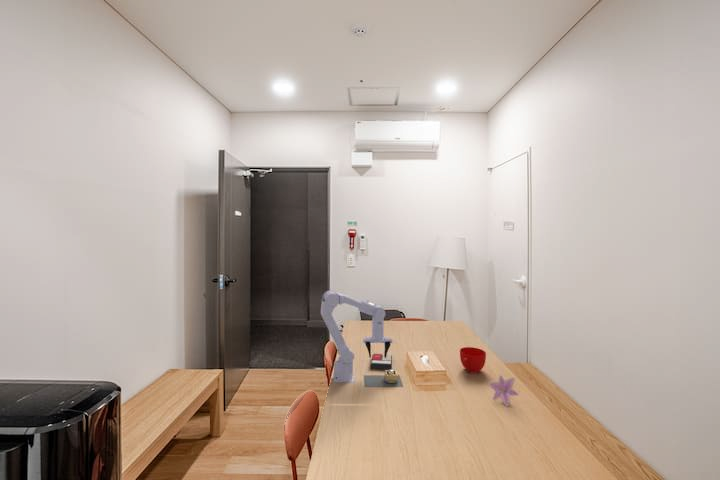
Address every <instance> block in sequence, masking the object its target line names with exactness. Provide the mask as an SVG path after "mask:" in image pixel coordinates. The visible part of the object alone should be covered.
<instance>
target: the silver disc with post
mask: <svg viewBox="0 0 720 480" xmlns="http://www.w3.org/2000/svg"><path fill="white" fill-rule="evenodd" d="M394 370H395V369H390V370H388V375H391V374H394ZM384 381H385V382H386V379H385V378H384ZM397 382H398V381H395V382H386V383H388V384H395V383H397Z"/></svg>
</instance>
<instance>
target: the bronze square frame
mask: <svg viewBox="0 0 720 480" xmlns="http://www.w3.org/2000/svg"><path fill="white" fill-rule="evenodd" d="M393 370H394V374H391V375H388V370H384V375H385V379H386V382H395V381H398V375H399V374H398V371H397V370H396V369H393Z"/></svg>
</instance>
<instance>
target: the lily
mask: <svg viewBox="0 0 720 480" xmlns="http://www.w3.org/2000/svg"><path fill="white" fill-rule="evenodd" d="M515 381H516V378H515V377H511V378H508V379H506V380H505V378H504V377H503V375H501V374H499V376H498V380H497V381H490V382H488V383H487V385H488V386H489V388H490V389H492V390H493V391H495V393H494V394H493V396H492V397H493V398H492V400H498V399H500V400H501V401H502V402H503V404H504V405H505V406H506V407H509V404H510V398H511V397H518V396H520V395H519V393H518V392H517V391H516V390H515V389H513V387H514V385H515Z"/></svg>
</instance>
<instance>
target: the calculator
mask: <svg viewBox="0 0 720 480" xmlns="http://www.w3.org/2000/svg"><path fill="white" fill-rule="evenodd" d="M392 367H393V355H392V354H388V353H387V355H386V358H385V357H384V353H383V354H382V353H373V354H372V355H371V361H370V370H384V371H385V370H390V369H392ZM392 370H393V369H392Z"/></svg>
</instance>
